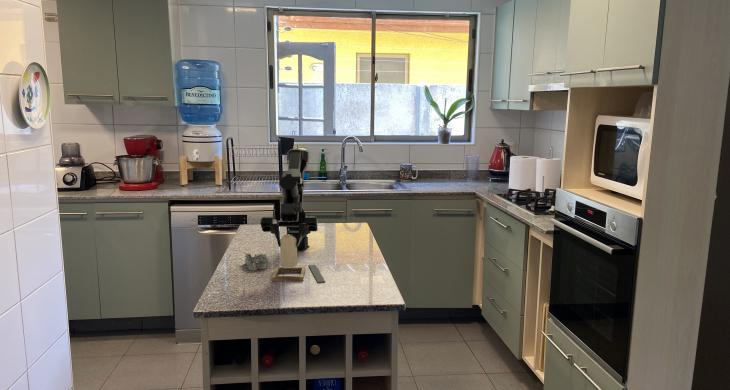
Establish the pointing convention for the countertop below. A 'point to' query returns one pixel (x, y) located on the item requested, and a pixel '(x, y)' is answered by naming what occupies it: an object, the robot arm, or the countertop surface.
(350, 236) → the countertop surface
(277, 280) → the keeper frame
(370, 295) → the countertop surface
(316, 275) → the strip
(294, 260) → the candle
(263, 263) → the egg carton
